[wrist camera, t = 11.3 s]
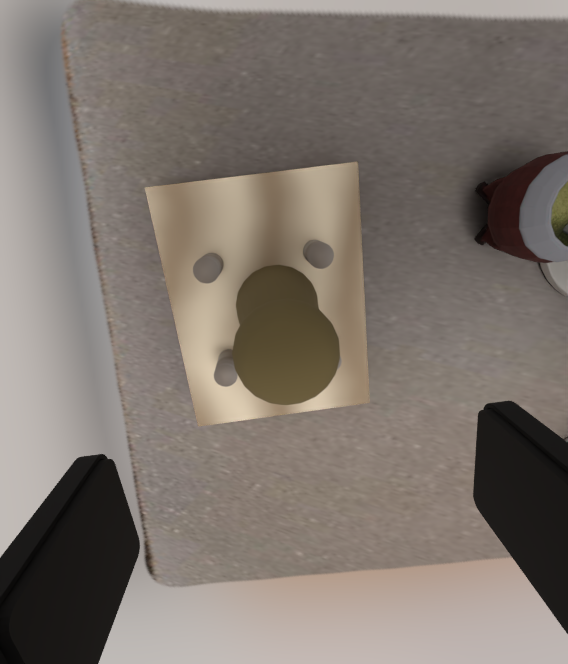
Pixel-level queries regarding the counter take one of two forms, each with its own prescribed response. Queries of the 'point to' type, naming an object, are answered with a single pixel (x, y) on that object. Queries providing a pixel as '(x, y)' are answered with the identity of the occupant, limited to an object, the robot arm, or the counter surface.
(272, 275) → the olive chess pawn
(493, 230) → the mate gourd
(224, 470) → the counter surface
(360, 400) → the wooden board with pegs
